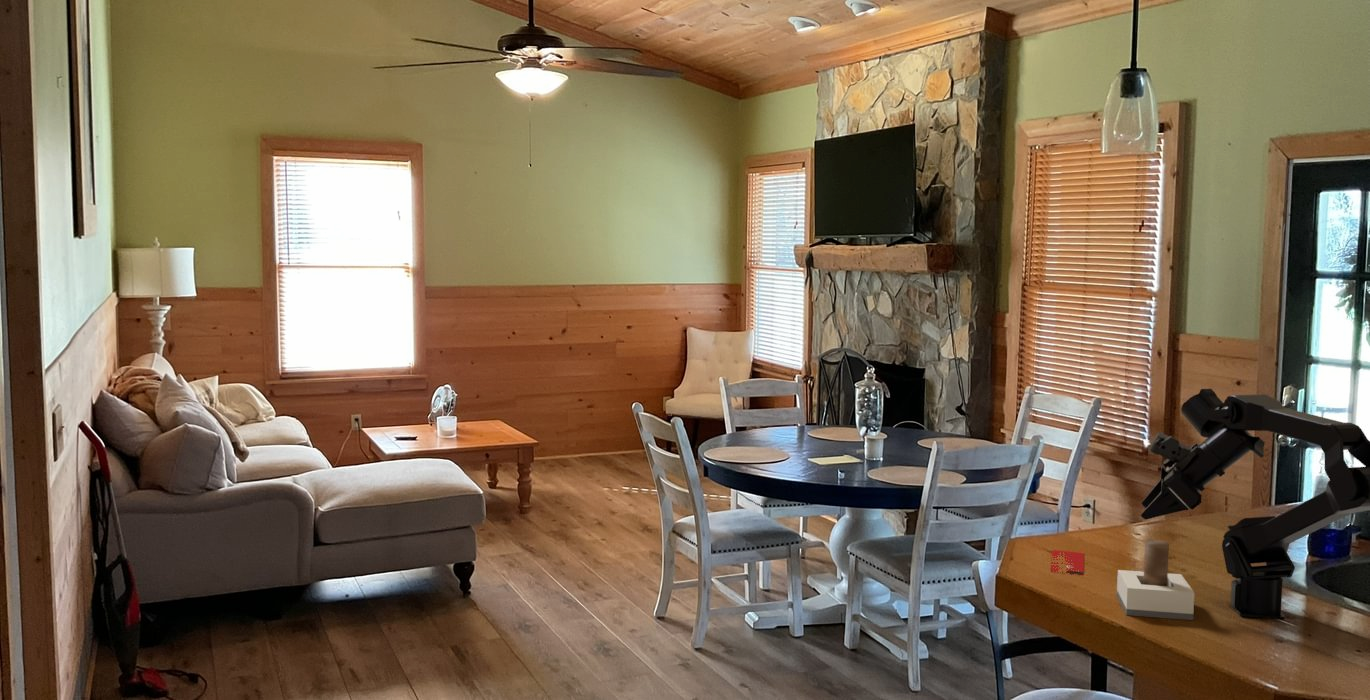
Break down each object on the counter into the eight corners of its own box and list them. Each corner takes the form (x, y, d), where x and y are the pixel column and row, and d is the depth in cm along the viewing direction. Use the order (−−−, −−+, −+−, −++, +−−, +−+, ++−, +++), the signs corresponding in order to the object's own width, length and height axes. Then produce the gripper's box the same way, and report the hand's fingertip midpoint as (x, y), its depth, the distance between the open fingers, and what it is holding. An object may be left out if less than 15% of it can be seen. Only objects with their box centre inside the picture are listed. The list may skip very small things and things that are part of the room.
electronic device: (1052, 552, 211) (1050, 574, 197) (1052, 549, 211) (1050, 571, 197) (1083, 555, 209) (1083, 577, 195) (1084, 552, 209) (1084, 574, 195)
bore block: (1179, 600, 181) (1181, 574, 181) (1193, 620, 171) (1194, 592, 171) (1116, 595, 183) (1117, 569, 183) (1126, 615, 174) (1127, 587, 173)
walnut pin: (1163, 599, 178) (1166, 540, 178) (1168, 606, 175) (1171, 546, 174) (1140, 597, 179) (1143, 538, 178) (1144, 604, 176) (1147, 544, 175)
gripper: (1179, 410, 191) (1111, 466, 197) (1182, 426, 174) (1106, 487, 180) (1227, 457, 189) (1155, 512, 194) (1234, 478, 172) (1156, 538, 177)
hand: (1142, 511), depth 187 cm, fingers open, 9 cm apart
